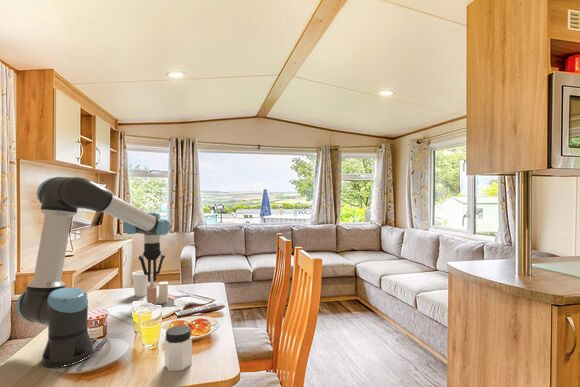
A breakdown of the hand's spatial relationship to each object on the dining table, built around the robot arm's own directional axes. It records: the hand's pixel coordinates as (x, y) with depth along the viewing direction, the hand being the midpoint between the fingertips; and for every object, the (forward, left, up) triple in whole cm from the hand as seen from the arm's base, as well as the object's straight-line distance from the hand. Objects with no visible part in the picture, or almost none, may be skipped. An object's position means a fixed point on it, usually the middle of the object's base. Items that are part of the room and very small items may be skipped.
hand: (152, 287), depth 173 cm
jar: (-65, -17, -9) cm, 68 cm away
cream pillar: (0, -6, -8) cm, 10 cm away
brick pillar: (-6, -1, -8) cm, 10 cm away
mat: (0, -8, -9) cm, 11 cm away
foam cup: (+15, +7, -9) cm, 19 cm away
